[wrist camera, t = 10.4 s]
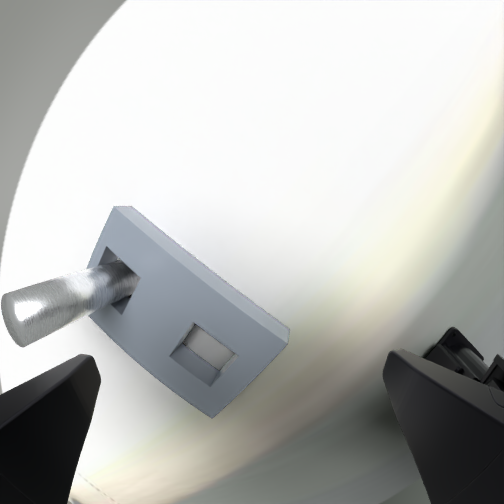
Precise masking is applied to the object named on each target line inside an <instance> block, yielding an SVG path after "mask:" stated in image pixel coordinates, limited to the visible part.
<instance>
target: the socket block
mask: <svg viewBox="0 0 504 504" xmlns="http://www.w3.org/2000/svg"><path fill="white" fill-rule="evenodd" d="M117 257H119V258H120V259H121V260H122V261H123V262H124V263H125V264H126V265H127V266H128V267H129V268H130V269H131V270H133V271H134V272H135V273H136V274H137V275H138V276H139V277H140V278H141V279H140V281H139V283H138V285H137V287H136V289H135V291H134V292H133V294H132V296H131V298H129V297H128V296H126V297H124V298H122V299H120V300H118V301H116V302H114V303H112V304H110V305H108V306H106V307H104V308H102V309H100V310H97V311H95V312H93V313H91V314H89V315H88V316H89V317H90V318H91V319H92V320H93V321H94V322H95V323H96V324H97V325H98V326H99V327H100V328H101V329H102V330H103V331H104V332H105V333H106V334H107V335H108V336H109V337H110V338H111V339H112V340H113V341H114V342H115V343H116V344H117V345H119V346H120V347H121V348H122V349H123V350H124V351H125V352H126V353H127V354H128V355H129V356H131V357H132V358H133V359H134V360H135V361H136V362H137V363H139V364H140V365H141V366H142V367H143V368H144V369H146V370H147V371H148V372H149V373H150V374H152V375H153V376H154V377H155V378H157V379H158V380H159V381H160V382H162V383H163V384H164V385H166V386H167V387H168V388H169V389H171V390H172V391H173V392H175V393H176V394H177V395H179V396H180V397H181V398H183V399H184V400H186V401H187V402H188V403H190V404H191V405H193V406H194V407H196V408H197V409H199V410H200V411H201V412H203V413H204V414H206V415H207V416H209V417H211V418H214V417H215V416H216V415H217V414H218V413H219V412H220V411H221V410H222V409H223V408H225V407H226V406H227V405H228V404H229V403H230V402H231V401H232V400H233V399H234V398H235V397H236V396H237V395H238V394H239V393H240V392H241V391H242V390H243V389H245V388H246V387H247V386H248V385H249V384H250V383H251V382H252V381H253V380H254V379H255V378H256V377H257V376H258V375H259V374H260V373H261V372H262V371H263V370H264V369H265V367H266V366H267V365H268V364H269V363H270V362H271V361H272V360H273V359H274V358H275V357H276V356H277V355H278V354H279V353H280V352H281V351H282V350H283V349H284V347H285V346H286V345H287V344H288V339H289V332H290V329H289V328H288V327H286V326H285V325H284V324H282V323H281V322H280V321H278V320H277V319H275V318H274V317H273V316H271V315H270V314H269V313H267V312H266V311H264V310H263V309H262V308H260V307H259V306H258V305H256V304H255V303H254V302H252V301H251V300H250V299H248V298H247V297H246V296H244V295H243V294H242V293H240V292H239V291H238V290H236V289H235V288H234V287H232V286H231V285H230V284H228V283H227V282H226V281H224V280H223V279H222V278H221V277H219V276H218V275H217V274H215V273H214V272H213V271H211V270H210V269H209V268H208V267H206V266H205V265H204V264H202V263H201V262H200V261H199V260H197V259H196V258H195V257H194V256H192V255H191V254H190V253H189V252H187V251H186V250H185V249H184V248H182V247H181V246H180V245H179V244H177V243H176V242H175V241H174V240H172V239H171V238H170V237H169V236H167V235H166V234H165V233H164V232H162V231H161V230H160V229H159V228H158V227H156V226H155V225H154V224H153V223H152V222H150V221H149V220H148V219H147V218H145V217H144V216H143V215H142V214H141V213H140V212H138V211H137V210H136V209H135V208H134V207H132V206H114V207H113V209H112V211H111V213H110V215H109V217H108V220H107V222H106V224H105V226H104V228H103V230H102V233H101V235H100V237H99V239H98V242H97V244H96V246H95V249H94V251H93V254H92V256H91V258H90V261H89V264H88V266H87V269H89V268H92V267H96V266H99V265H103V264H107V263H110V262H114V261H116V259H117ZM195 324H196V325H198V326H199V327H200V328H202V329H203V330H204V331H206V332H207V333H208V334H209V335H211V336H212V337H213V338H215V339H216V340H217V341H219V342H220V343H221V344H223V345H224V346H226V347H227V348H228V349H230V350H231V351H232V352H234V353H235V354H234V355H233V356H232V358H231V359H230V360H229V361H228V362H227V363H226V364H225V365H224V367H223V368H222V369H221V370H220V371H219V370H217V369H216V368H214V367H213V366H212V365H210V364H209V363H207V362H206V361H205V360H203V359H202V358H201V357H199V356H198V355H197V354H195V353H194V352H193V351H192V350H190V349H189V348H188V347H186V346H185V345H184V344H183V343H182V342H183V340H184V339H185V338H186V336H187V335H188V333H189V332H190V331H191V329H192V328H193V326H194V325H195Z"/></svg>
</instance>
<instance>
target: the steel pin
mask: <svg viewBox="0 0 504 504" xmlns="http://www.w3.org/2000/svg"><path fill="white" fill-rule="evenodd" d="M140 279H141V278H140V277H139V276H138V275H137V274H136V273H135V272H134V271H133V270H131V269H130V268H129V267H128V266H127V265H126V264H125V263H124V262H123V261H122V260H117V261H114V262H110V263H107V264H103V265H99V266H96V267H92V268H89V269H85V270H82V271H78V272H75V273H72V274H68V275H65V276H61V277H58V278H55V279H51V280H48V281H45V282H41V283H38V284H35V285H32V286H28V287H25V288H22V289H19V290H16V291H12V292H9V293H6V294H4V295H3V296H2V300H1V309H2V315H3V319H4V322H5V325H6V327H7V330H8V332H9V334H10V335H11V337H12V339H13V340H14V341H15V343H16V344H17V345H19V346H20V347H25V346H27V345H29V344H31V343H33V342H35V341H37V340H39V339H41V338H43V337H45V336H47V335H49V334H51V333H53V332H55V331H57V330H59V329H61V328H63V327H65V326H67V325H69V324H71V323H73V322H75V321H77V320H79V319H81V318H83V317H85V316H87V315H89V314H91V313H93V312H95V311H97V310H100V309H102V308H104V307H106V306H108V305H110V304H112V303H114V302H116V301H118V300H120V299H122V298H124V297H126V296H128V295H130V294H132V293H133V292H134V291H135V289H136V287H137V285H138V283H139V281H140Z"/></svg>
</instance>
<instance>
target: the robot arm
mask: <svg viewBox="0 0 504 504" xmlns="http://www.w3.org/2000/svg"><path fill="white" fill-rule="evenodd" d="M453 332H454V334H453V335H452V333H453ZM483 360H484V358H483V356H482V355H481V354H480V353H479V352H478V351H477V350H476V348H475V347H474V346H473V345H472V344H471V343H470V342H469V341H468V340H467V339H466V338H465V337H464V336H463V335H462V334H461V333H460V331H459V330H458V329H456V328H455V327H452V328H451V329H450V330H449V331H448V332H447V333H446V335H445V336H444V337H443V338H442V340H441V341H440V342H439V343H438V344H437V346H436V347H435V348H434V349H433V350H432V352H431V353H430V354H429V355H428V356H427V357H426V358H425V359H424V358H421V357H419V356H417V355H415V354H412V353H410V352H408V351H406V350H404V349H397V350H392V351H390V352H389V354H388V357H387V360H386V363H385V366H384V369H383V379H384V382H385V385H386V388H387V391H388V394H389V397H390V400H391V403H392V407H393V410H394V412H395V415H396V418H397V420H398V422H399V425H400V427H401V429H402V431H403V434H404V436H405V438H406V441H407V443H408V445H409V448H410V450H411V453H412V455H413V457H414V460H415V462H416V465H417V467H418V470H419V472H420V475H421V478H422V480H423V484H424V485H425V488H426V491H427V494H428V496H429V499H430V502H431V504H504V359H503V358H502V357H501V356H500V355H498V354H497V355H496V357H495V358H494V361H493V363H492V364H491V366H490V367H488V366H487V365H486V364H485V363H484V362H483ZM100 384H101V377H100V374H99V371H98V368H97V366H96V363H95V360H94V358H93V357H92V356H90V355H85V354H80V355H78V356H76V357H74V358H72V359H70V360H68V361H66V362H64V363H62V364H60V365H58V366H56V367H54V368H52V369H50V370H48V371H46V372H44V373H42V374H41V375H39V376H37V377H35V378H33V379H31V380H29V381H27V382H25V383H23V384H21V385H19V386H17V387H15V388H13V389H11V390H9V391H7V392H5V393H3V394H1V395H0V504H67V502H68V498H69V494H70V490H71V486H72V482H73V478H74V475H75V471H76V467H77V464H78V461H79V457H80V454H81V451H82V448H83V445H84V441H85V438H86V435H87V432H88V429H89V426H90V423H91V420H92V416H93V412H94V407H95V403H96V399H97V395H98V391H99V388H100Z"/></svg>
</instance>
